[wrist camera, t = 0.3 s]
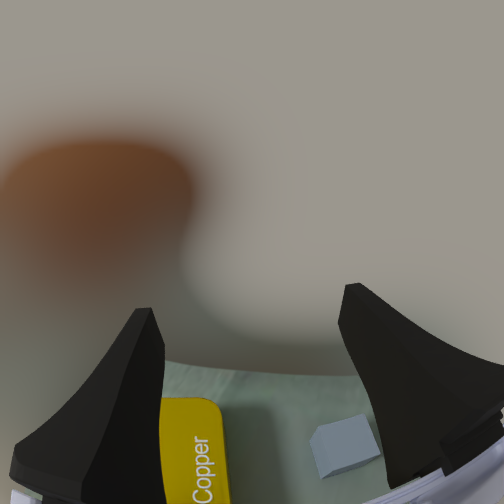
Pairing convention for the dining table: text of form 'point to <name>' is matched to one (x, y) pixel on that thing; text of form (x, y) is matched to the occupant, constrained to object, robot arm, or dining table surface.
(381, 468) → the dining table surface
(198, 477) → the element tile
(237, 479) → the dining table surface
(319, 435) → the slate-blue cube
